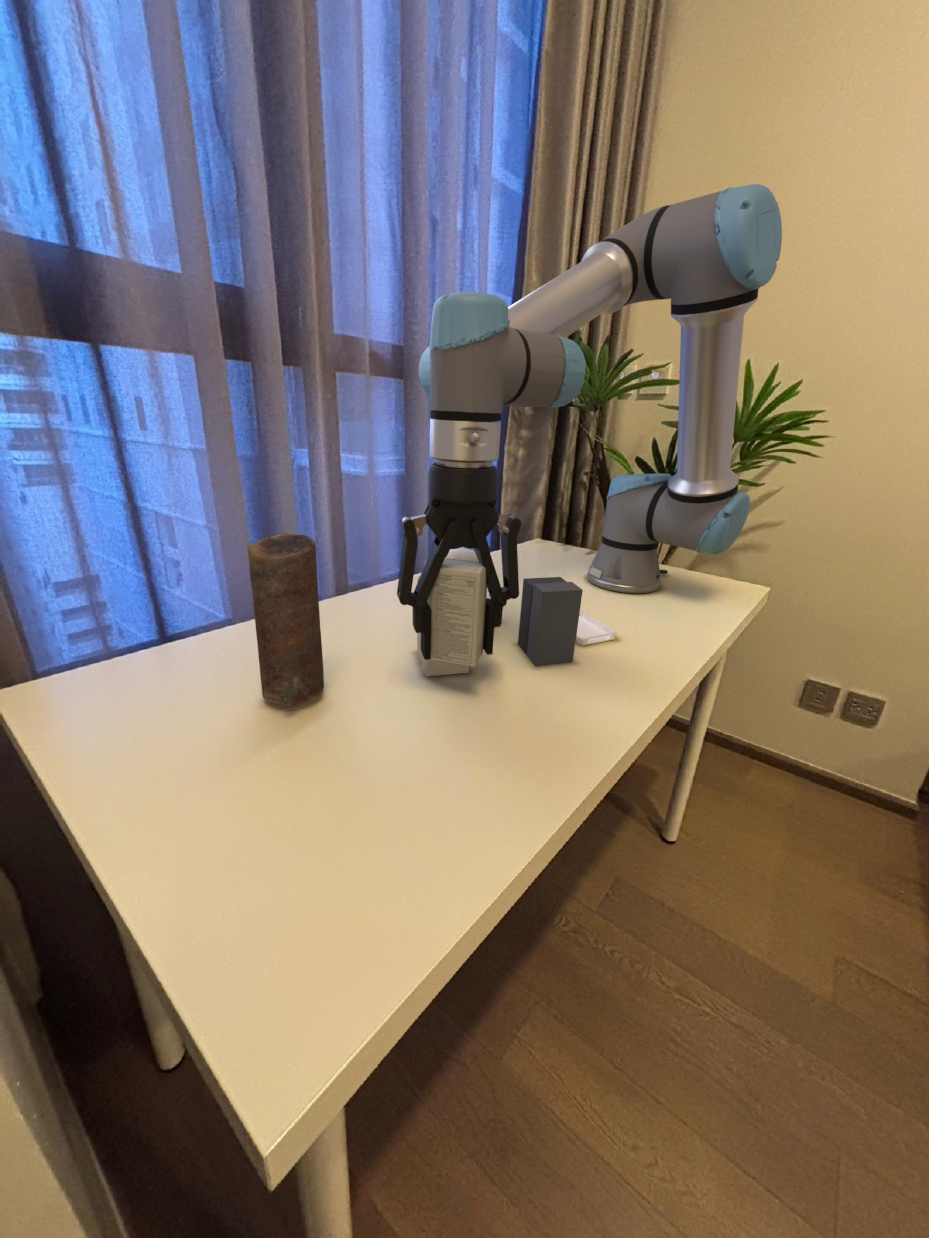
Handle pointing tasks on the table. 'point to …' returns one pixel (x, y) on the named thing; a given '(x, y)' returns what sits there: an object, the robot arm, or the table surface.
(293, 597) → the candle
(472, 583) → the cosmetic box
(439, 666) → the white rectangular block
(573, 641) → the dark grey upright block
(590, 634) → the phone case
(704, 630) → the table surface
